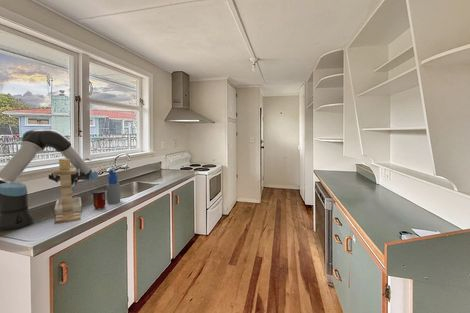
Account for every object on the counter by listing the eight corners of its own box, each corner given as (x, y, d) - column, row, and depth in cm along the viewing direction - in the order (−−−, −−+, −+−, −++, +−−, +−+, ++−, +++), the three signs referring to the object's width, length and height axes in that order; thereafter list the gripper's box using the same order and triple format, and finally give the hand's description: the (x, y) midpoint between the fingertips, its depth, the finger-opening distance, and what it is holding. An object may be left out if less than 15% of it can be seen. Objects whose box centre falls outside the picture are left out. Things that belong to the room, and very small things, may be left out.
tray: (57, 205, 161) (57, 199, 161) (81, 202, 169) (80, 196, 169) (54, 216, 140) (54, 209, 140) (81, 211, 148) (81, 205, 148)
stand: (56, 217, 138) (53, 169, 136) (80, 213, 145) (77, 167, 142) (54, 224, 127) (51, 172, 124) (80, 220, 134) (77, 170, 131)
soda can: (107, 205, 161) (106, 189, 160) (103, 209, 154) (102, 191, 153) (96, 206, 159) (95, 189, 158) (92, 209, 152) (91, 192, 151)
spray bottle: (122, 201, 171) (121, 169, 169) (111, 204, 164) (109, 170, 161) (116, 199, 176) (114, 168, 173) (104, 202, 168) (102, 169, 166)
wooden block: (61, 166, 145) (60, 157, 144) (70, 166, 148) (70, 157, 147) (59, 170, 130) (59, 160, 130) (70, 169, 133) (69, 159, 133)
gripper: (88, 184, 173) (89, 174, 157) (46, 189, 158) (42, 178, 143) (87, 175, 175) (88, 164, 159) (46, 179, 161) (42, 167, 145)
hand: (66, 171), depth 151 cm, fingers open, 13 cm apart
